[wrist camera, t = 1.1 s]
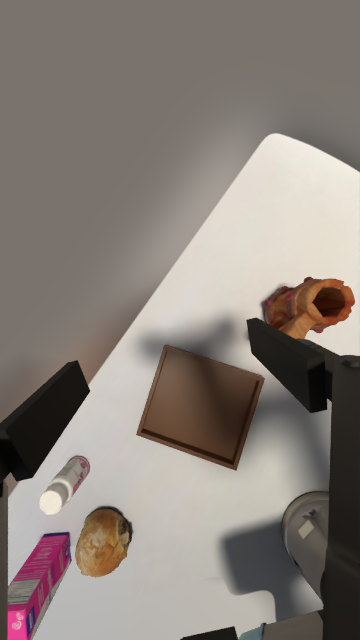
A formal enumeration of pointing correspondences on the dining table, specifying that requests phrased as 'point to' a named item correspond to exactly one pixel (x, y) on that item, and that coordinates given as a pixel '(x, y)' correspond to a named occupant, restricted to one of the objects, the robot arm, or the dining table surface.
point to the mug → (309, 306)
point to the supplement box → (37, 585)
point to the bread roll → (102, 543)
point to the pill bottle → (64, 485)
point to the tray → (200, 406)
